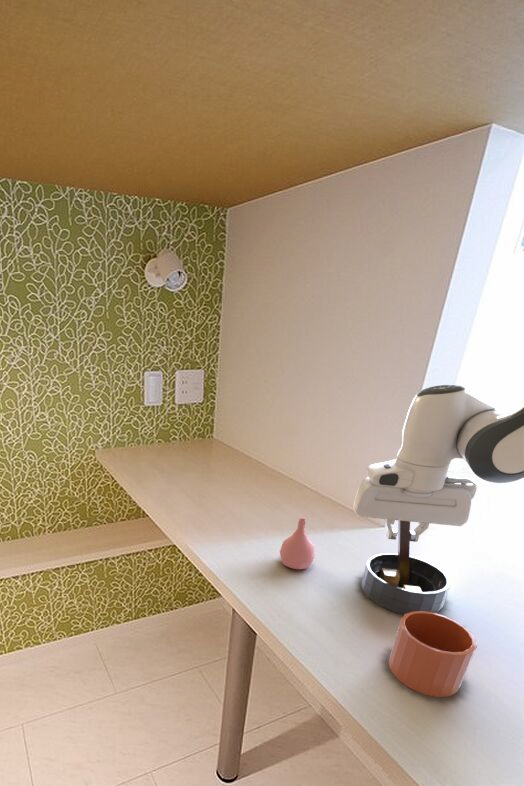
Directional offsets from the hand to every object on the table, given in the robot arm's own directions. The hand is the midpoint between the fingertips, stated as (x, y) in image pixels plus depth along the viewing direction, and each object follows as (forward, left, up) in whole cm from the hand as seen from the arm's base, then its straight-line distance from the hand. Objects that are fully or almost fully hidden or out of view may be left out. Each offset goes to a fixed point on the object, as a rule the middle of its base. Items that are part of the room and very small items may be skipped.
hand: (401, 539), depth 88 cm
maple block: (0, 0, -11) cm, 11 cm away
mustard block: (-3, +6, -11) cm, 13 cm away
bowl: (-2, +3, -12) cm, 12 cm away
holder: (0, +26, -12) cm, 28 cm away
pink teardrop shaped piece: (+19, -4, -12) cm, 23 cm away
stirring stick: (-2, 0, -9) cm, 10 cm away
